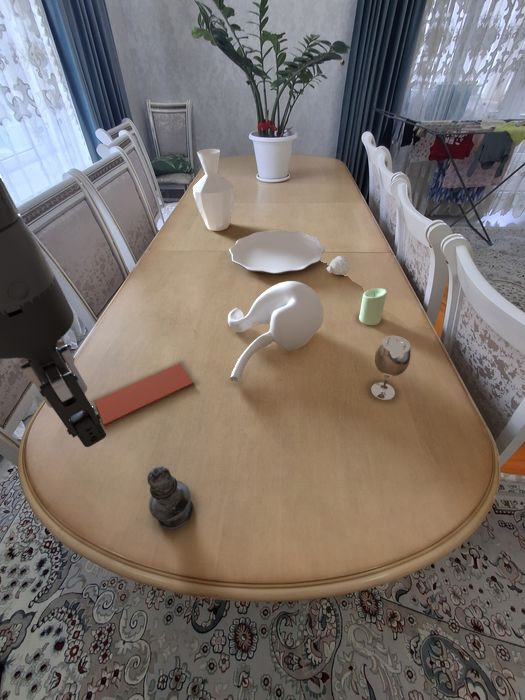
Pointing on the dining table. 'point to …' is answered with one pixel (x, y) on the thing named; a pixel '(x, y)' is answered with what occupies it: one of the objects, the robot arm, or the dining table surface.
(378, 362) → the wineglass
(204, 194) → the vase
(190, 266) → the dining table surface
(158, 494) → the chess piece
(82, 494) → the dining table surface
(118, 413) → the rectangular block
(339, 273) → the garlic bulb
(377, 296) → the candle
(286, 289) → the stomach
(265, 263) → the plate
